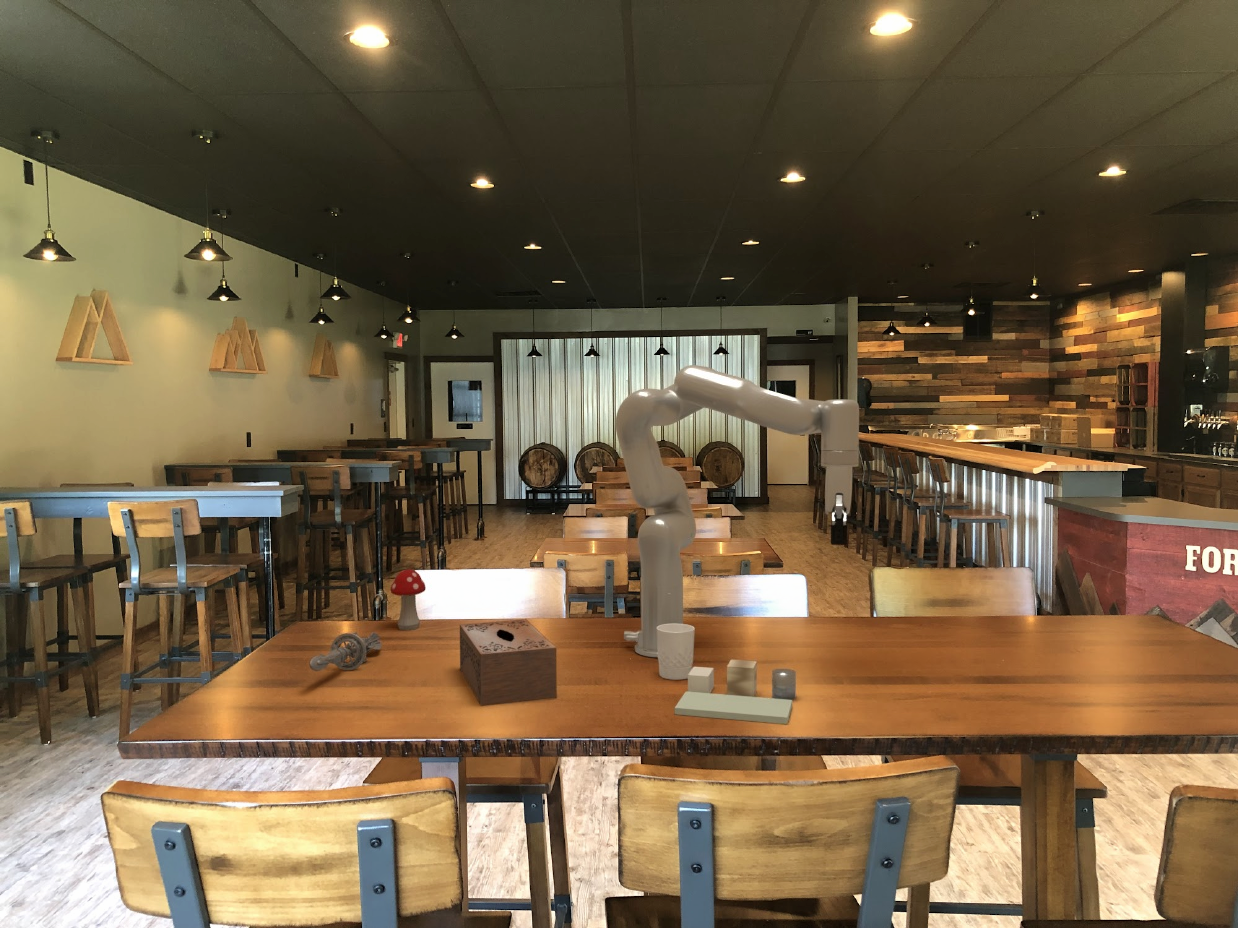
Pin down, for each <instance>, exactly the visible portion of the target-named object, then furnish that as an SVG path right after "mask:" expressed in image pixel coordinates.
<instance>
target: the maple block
mask: <svg viewBox="0 0 1238 928" xmlns="http://www.w3.org/2000/svg"><path fill="white" fill-rule="evenodd" d="M757 662H758V661H755V660H744V659H743V660H742V659H730V661H729V663H728V664H727V665H726V695H736V696H749V697H756V694H757V690H758V689H757V688H758V687H757V684H758V683H757V678H758V677H757V669H758V667H757Z"/></svg>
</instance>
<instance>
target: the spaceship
mask: <svg viewBox="0 0 1238 928" xmlns="http://www.w3.org/2000/svg"><path fill="white" fill-rule="evenodd" d="M342 644H344V646H342ZM382 644H383V643H382V641H381V640H380V635H379V634H378V633H377V632H375V631H373V632H372V633H371V634H370V635H369V636H367V637H360V636H359V634H358V632H357V631H355V632H353V633H352V632H343V633H341V634H339V635H337V636H336V637H335V638H334V639H333V641H332V643H331V646H330V650H329V652H328V653H327V654H323V653H320V654H317V655H315V656H313V657H312V658H310V661H309V664H308V665H309V668H311V670H312V671H315V672H319V671H322V670H324V669H327V668H328V666H329V664H331V665H332V664H333V665H335V666H336V667H338V669H340V670H342V671H353V670H357V669H358V668H359V667H360V666H362V665H363V664H364V663H365V662H367V661H368V659H367V654H368V653H370V652H371V651H372V650H378V651H379V650H381V647H382ZM348 659H349V661H347V660H348Z"/></svg>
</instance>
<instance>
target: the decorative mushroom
mask: <svg viewBox="0 0 1238 928" xmlns="http://www.w3.org/2000/svg"><path fill="white" fill-rule="evenodd" d="M425 591H426V584H425V581H424V580H423V579H422V576H421V575H420V574H419V572H417V571H416V570H414V569H410V568H409V569H404V570H402V571H400V572H399V573H398V574H397V575H396V577H395V579H394V581H393V583H392V584H391V585H390V593H391V595H395V596H397V597H398V596H399V597H400V614H399V618H398V621H397V627H398V629H399V631H412V630H417V629H419V626H420V623H421V621H420V619H419V615H418V610H417V603H416V601H417V599H416V596H417V595H420V594H422V593H424V592H425Z"/></svg>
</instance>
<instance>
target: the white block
mask: <svg viewBox="0 0 1238 928" xmlns="http://www.w3.org/2000/svg"><path fill="white" fill-rule="evenodd" d="M714 675H715V669H714V667H706V666H705V667H702V666H692V670H691V671H690V673H689V674H688V678H687V692H699V693H712V691H713V690H714V687H715V683H714V682H715V681H714V680H715V679H714V678H715V677H714Z"/></svg>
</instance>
